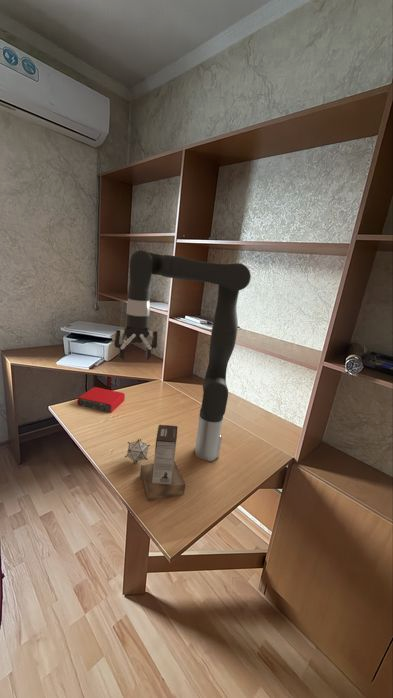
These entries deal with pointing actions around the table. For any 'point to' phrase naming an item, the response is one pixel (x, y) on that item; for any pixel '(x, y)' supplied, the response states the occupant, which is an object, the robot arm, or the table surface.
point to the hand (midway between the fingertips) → (134, 359)
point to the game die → (137, 451)
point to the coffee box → (164, 454)
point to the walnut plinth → (161, 490)
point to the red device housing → (101, 399)
